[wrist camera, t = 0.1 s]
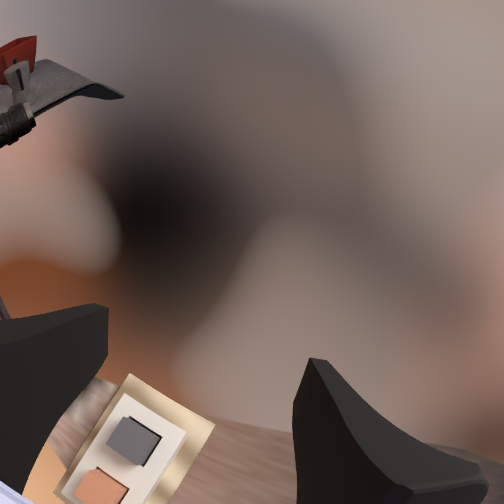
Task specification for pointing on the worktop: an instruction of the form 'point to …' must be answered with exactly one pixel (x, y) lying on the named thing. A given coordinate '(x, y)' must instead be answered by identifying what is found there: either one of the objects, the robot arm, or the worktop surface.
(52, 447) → the worktop surface
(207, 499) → the worktop surface
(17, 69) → the coffeepot
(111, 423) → the plunger panel
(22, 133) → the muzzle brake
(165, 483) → the birch board
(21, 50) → the plant pot
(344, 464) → the robot arm
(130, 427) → the grey cube
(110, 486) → the terracotta plunger
